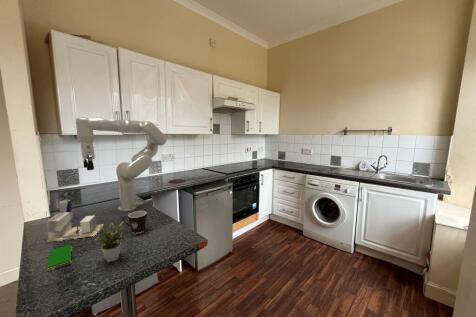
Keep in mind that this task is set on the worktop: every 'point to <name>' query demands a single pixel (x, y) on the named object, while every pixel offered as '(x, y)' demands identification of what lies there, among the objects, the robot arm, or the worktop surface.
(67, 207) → the energy drink
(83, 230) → the white rectangular block
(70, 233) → the base
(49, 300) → the worktop surface
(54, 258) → the dish sponge
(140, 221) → the coffee mug
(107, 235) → the house plant
